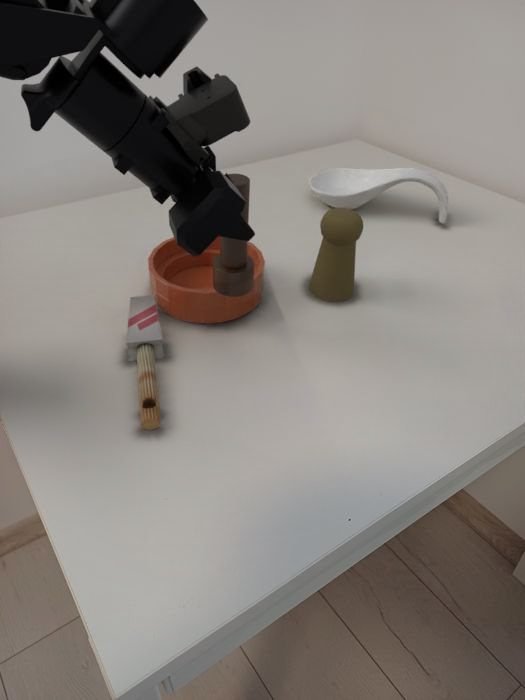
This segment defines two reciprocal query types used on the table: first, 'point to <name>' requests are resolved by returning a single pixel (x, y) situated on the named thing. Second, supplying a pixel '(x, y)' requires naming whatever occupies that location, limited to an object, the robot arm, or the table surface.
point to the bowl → (198, 284)
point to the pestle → (235, 254)
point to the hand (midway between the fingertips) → (247, 229)
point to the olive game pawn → (336, 255)
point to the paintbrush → (145, 355)
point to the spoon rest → (370, 186)
